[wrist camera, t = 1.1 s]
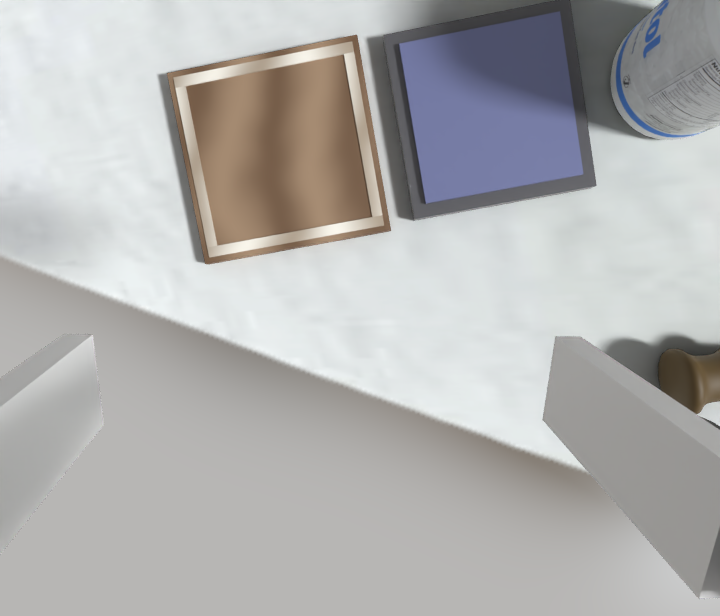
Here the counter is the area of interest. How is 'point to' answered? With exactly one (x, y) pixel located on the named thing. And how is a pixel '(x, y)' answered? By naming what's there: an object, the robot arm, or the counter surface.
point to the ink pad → (490, 109)
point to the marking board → (280, 150)
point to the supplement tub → (671, 70)
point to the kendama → (690, 378)
